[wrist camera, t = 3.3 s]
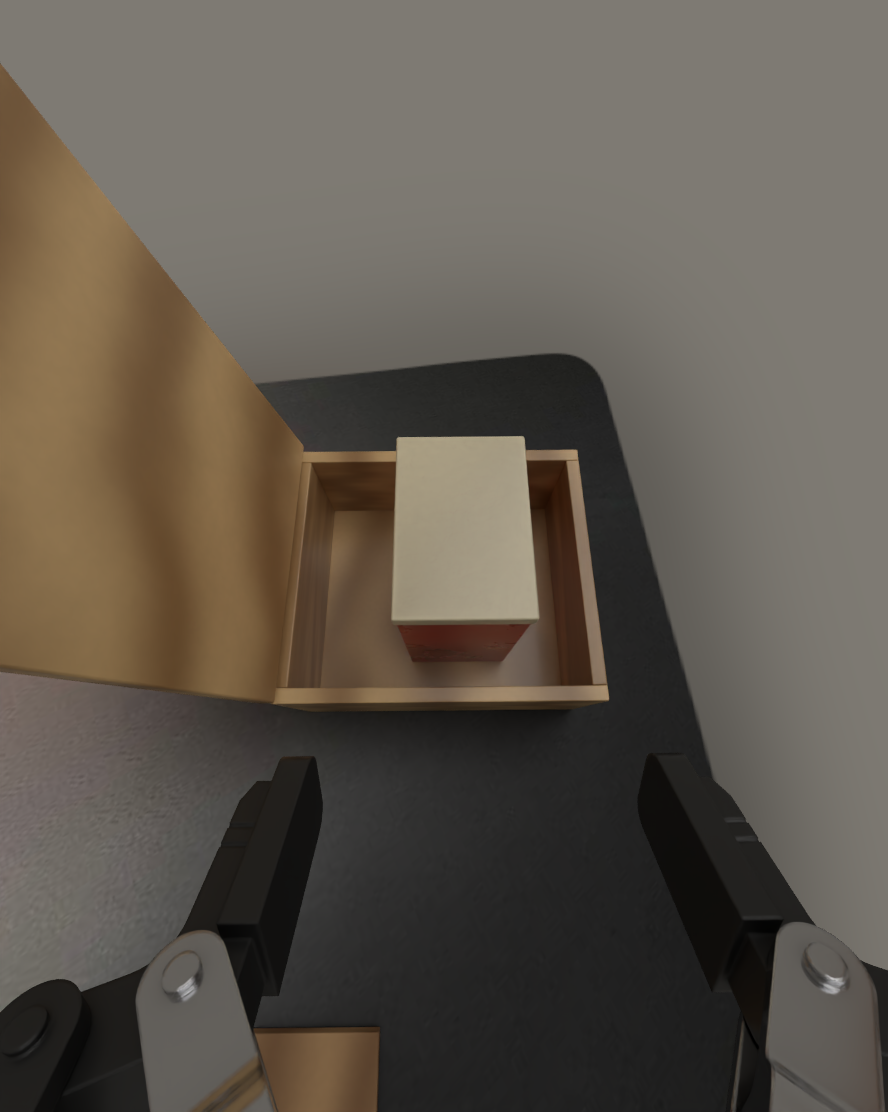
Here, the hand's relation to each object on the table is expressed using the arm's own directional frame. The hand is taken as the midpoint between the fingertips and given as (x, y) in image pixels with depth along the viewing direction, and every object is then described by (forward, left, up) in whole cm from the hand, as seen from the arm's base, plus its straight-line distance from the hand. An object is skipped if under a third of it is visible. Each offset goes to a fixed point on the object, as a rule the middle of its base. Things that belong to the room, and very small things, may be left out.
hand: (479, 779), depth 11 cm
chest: (+1, -9, -16) cm, 19 cm away
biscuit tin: (0, -9, -16) cm, 18 cm away
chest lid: (+10, -9, -1) cm, 13 cm away
